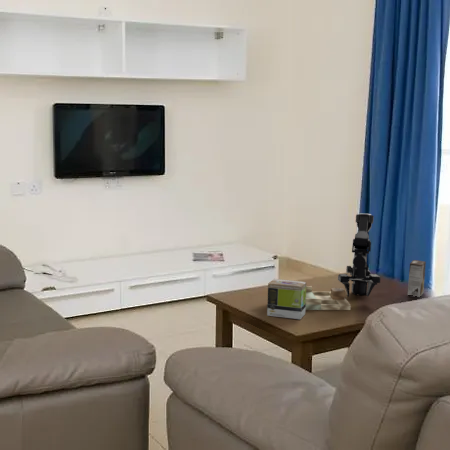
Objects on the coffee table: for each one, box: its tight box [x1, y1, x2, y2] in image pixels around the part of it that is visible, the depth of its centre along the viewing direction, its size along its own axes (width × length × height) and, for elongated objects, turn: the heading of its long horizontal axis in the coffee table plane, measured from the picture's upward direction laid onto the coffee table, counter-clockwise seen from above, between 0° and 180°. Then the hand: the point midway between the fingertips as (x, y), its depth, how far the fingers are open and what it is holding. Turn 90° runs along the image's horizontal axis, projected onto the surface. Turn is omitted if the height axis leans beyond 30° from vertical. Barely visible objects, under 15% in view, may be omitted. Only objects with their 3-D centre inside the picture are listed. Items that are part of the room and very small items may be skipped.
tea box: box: [266, 278, 307, 320], centre depth 318 cm, size 15×10×15 cm, turn 71°
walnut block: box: [330, 287, 346, 300], centre depth 339 cm, size 6×6×4 cm
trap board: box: [305, 285, 352, 311], centre depth 339 cm, size 21×22×5 cm
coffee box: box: [407, 259, 427, 298], centre depth 358 cm, size 9×6×16 cm
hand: (357, 296), depth 340 cm, fingers open, 9 cm apart
